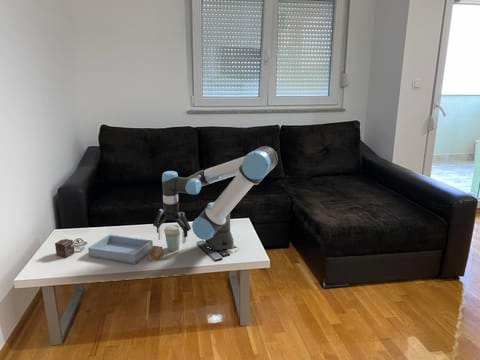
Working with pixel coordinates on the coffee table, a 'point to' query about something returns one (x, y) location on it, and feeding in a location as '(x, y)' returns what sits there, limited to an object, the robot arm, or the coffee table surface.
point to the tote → (120, 249)
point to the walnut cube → (155, 252)
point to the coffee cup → (172, 237)
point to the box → (64, 248)
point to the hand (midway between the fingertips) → (172, 240)
